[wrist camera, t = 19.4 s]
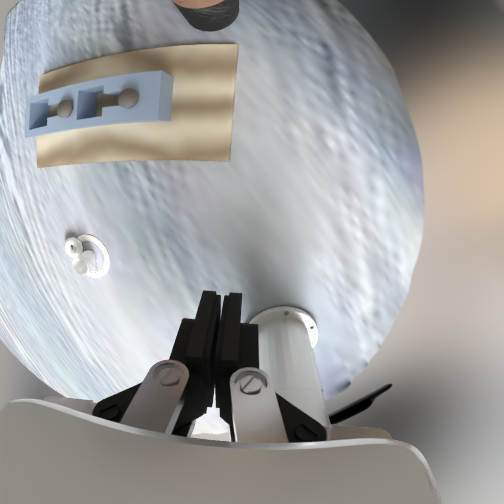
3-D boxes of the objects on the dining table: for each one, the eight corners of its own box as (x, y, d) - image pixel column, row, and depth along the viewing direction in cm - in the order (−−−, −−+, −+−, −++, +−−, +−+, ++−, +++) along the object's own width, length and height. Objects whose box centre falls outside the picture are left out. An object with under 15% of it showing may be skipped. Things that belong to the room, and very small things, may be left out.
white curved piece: (64, 241, 40) (51, 251, 36) (91, 221, 39) (78, 229, 35) (90, 282, 43) (79, 294, 40) (119, 265, 42) (109, 277, 38)
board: (229, 160, 35) (224, 167, 28) (41, 167, 34) (13, 175, 28) (238, 47, 28) (235, 28, 22) (45, 75, 28) (17, 72, 21)
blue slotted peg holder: (170, 121, 32) (157, 119, 27) (44, 134, 31) (24, 137, 26) (173, 77, 29) (162, 70, 25) (46, 98, 28) (26, 98, 24)
